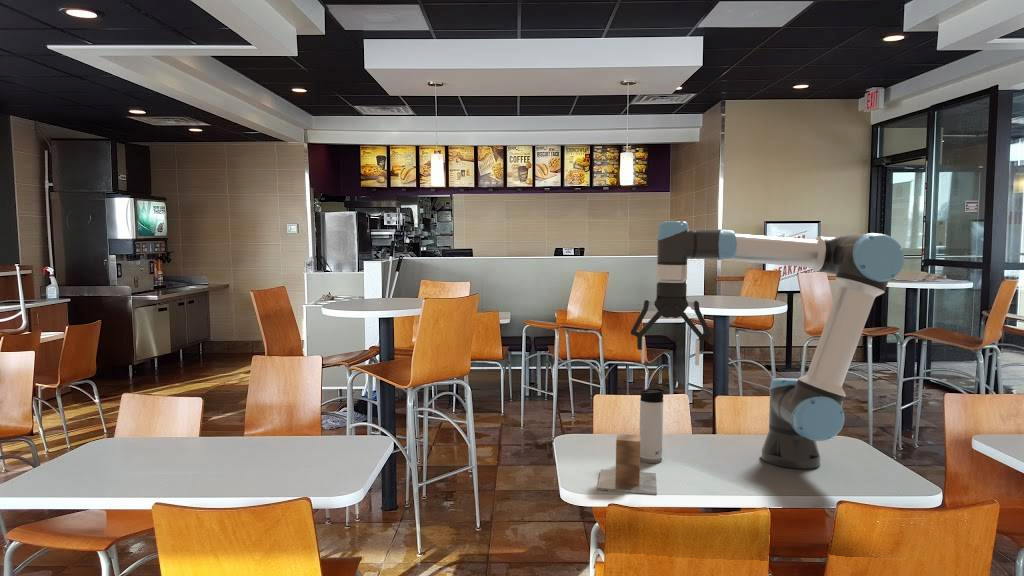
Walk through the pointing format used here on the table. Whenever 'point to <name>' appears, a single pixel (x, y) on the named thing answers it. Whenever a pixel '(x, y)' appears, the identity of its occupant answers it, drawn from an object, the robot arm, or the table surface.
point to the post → (644, 487)
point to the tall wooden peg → (628, 459)
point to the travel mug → (651, 425)
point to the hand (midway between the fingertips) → (669, 363)
